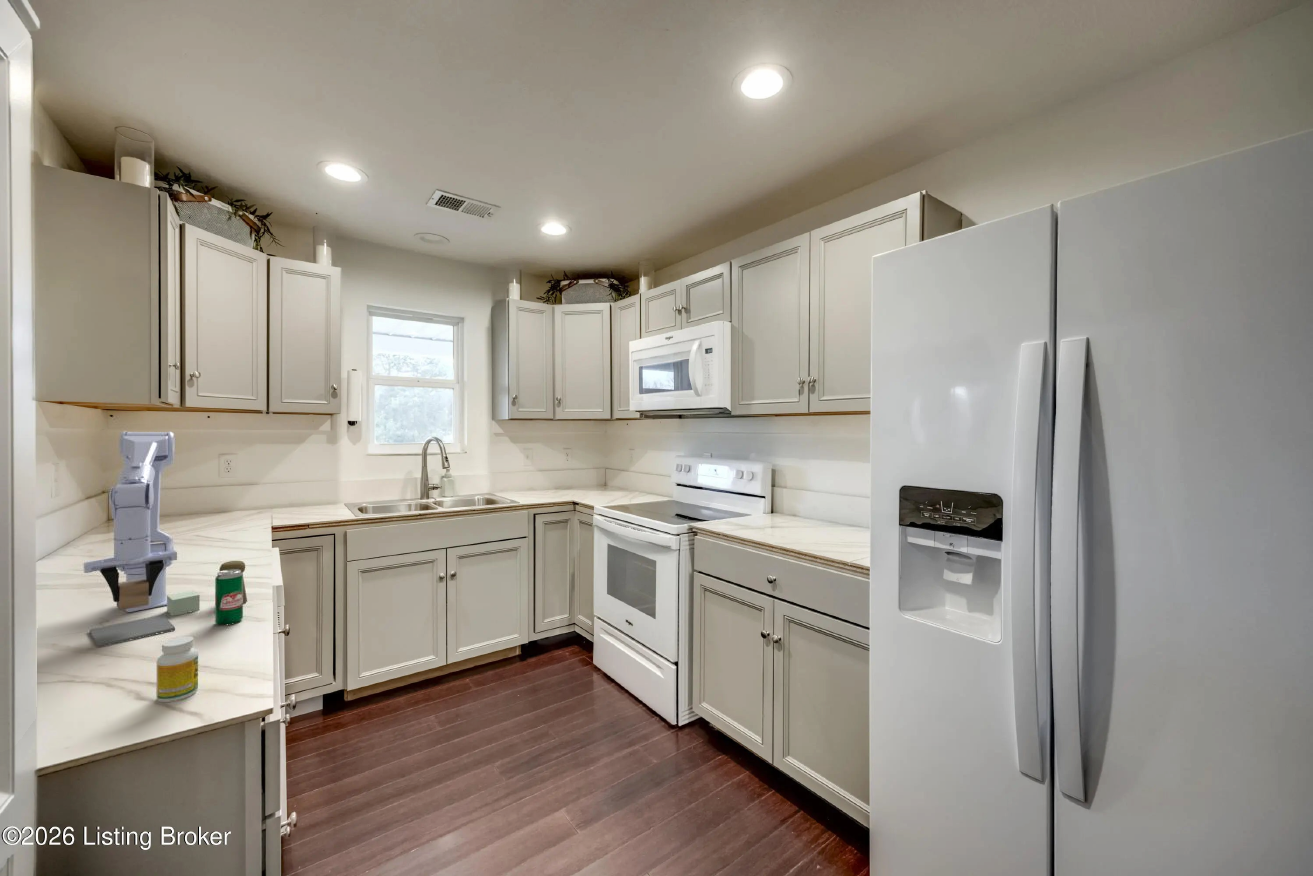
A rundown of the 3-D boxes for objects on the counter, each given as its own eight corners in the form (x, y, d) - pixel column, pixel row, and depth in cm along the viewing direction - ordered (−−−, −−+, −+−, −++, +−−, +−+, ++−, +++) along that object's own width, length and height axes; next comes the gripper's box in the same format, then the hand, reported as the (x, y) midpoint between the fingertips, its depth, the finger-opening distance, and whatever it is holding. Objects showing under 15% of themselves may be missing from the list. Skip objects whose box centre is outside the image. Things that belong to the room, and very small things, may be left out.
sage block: (167, 611, 128) (167, 595, 128) (193, 606, 133) (193, 590, 132) (172, 616, 126) (172, 600, 125) (199, 610, 130) (199, 594, 130)
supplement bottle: (153, 695, 90) (153, 641, 90) (194, 684, 95) (194, 632, 94) (159, 707, 87) (159, 650, 87) (201, 694, 91) (201, 640, 91)
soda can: (220, 628, 119) (220, 576, 119) (211, 622, 122) (211, 572, 122) (246, 621, 124) (246, 571, 123) (237, 616, 126) (237, 567, 126)
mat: (89, 632, 115) (89, 629, 115) (163, 616, 125) (163, 614, 125) (97, 647, 108) (97, 644, 108) (175, 630, 117) (175, 627, 117)
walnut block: (116, 605, 116) (116, 583, 115) (144, 600, 119) (144, 578, 119) (120, 610, 113) (119, 587, 113) (148, 604, 116) (148, 582, 116)
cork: (230, 609, 131) (230, 565, 131) (210, 606, 132) (210, 563, 132) (253, 601, 137) (253, 559, 136) (234, 598, 138) (234, 557, 138)
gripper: (86, 545, 107) (87, 611, 108) (180, 534, 119) (180, 593, 119) (82, 540, 112) (82, 603, 112) (173, 530, 123) (173, 587, 124)
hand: (132, 597), depth 116 cm, fingers closed on walnut block, 4 cm apart
